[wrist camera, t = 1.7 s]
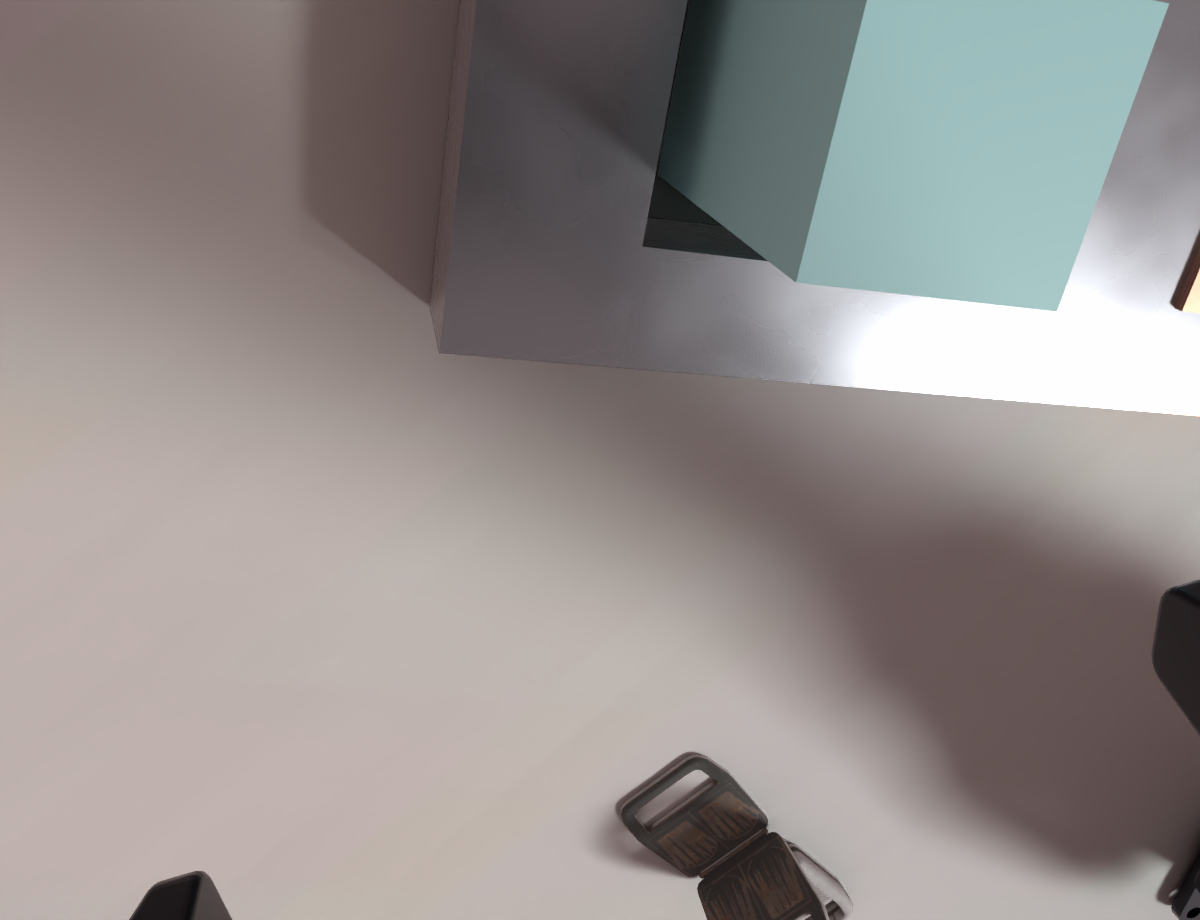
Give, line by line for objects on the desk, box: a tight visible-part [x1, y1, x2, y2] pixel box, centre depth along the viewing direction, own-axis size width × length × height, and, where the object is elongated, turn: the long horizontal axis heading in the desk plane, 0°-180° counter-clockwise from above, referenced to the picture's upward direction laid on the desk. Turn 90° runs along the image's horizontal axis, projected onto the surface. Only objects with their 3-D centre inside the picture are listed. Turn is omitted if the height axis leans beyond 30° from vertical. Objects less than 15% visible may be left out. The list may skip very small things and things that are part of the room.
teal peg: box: [657, 0, 1169, 311], centre depth 16 cm, size 4×4×7 cm
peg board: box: [430, 0, 1200, 416], centre depth 19 cm, size 24×10×3 cm, turn 81°
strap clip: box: [621, 754, 853, 920], centre depth 27 cm, size 8×3×4 cm, turn 37°
